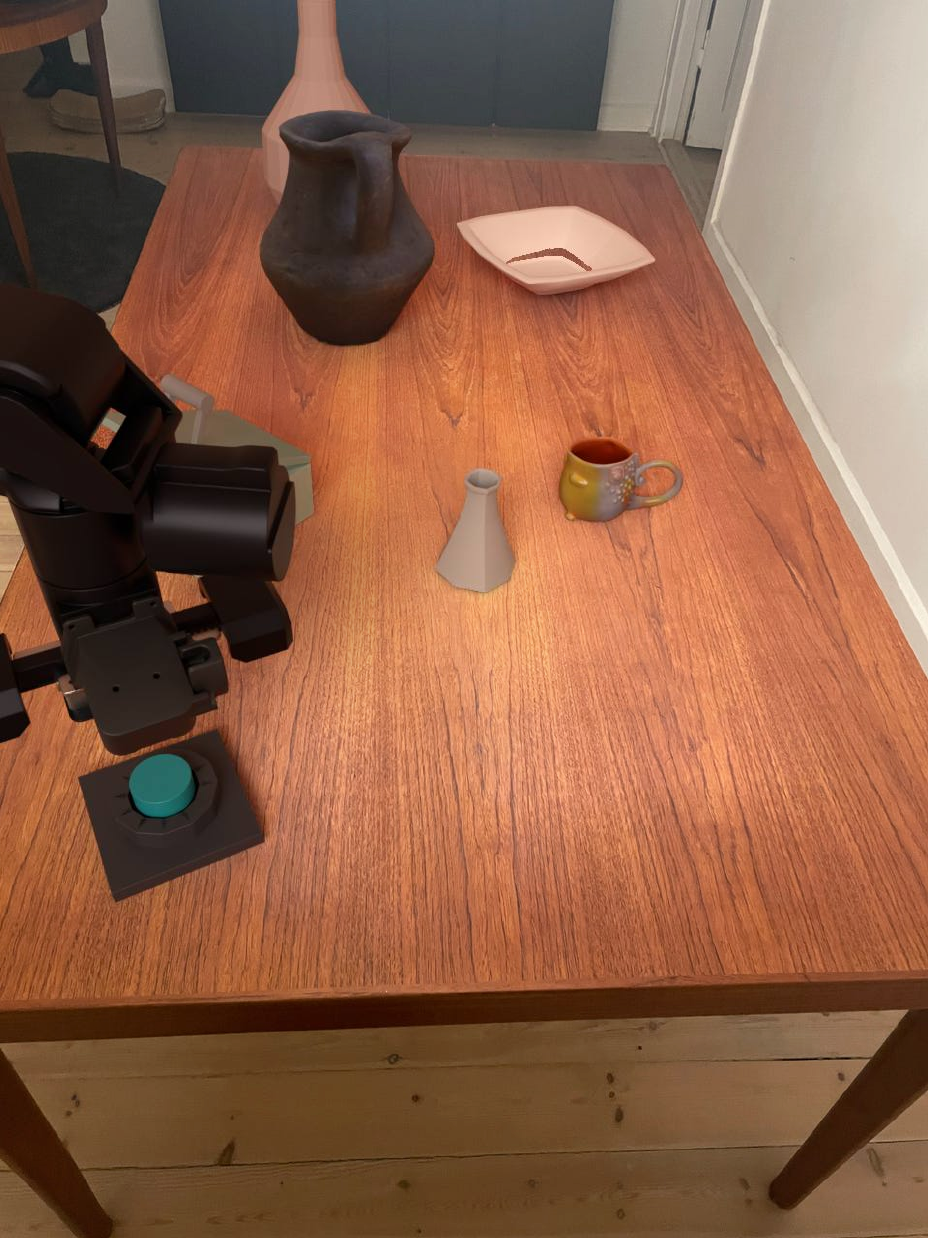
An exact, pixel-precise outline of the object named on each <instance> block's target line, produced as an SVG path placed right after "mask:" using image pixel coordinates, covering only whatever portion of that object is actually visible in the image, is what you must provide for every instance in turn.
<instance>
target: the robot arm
mask: <svg viewBox="0 0 928 1238" xmlns="http://www.w3.org/2000/svg"><path fill="white" fill-rule="evenodd" d="M111 409H112V410H114V411H115V412H119V413H121V414H123V415H124V416H126V417H125V419H124V420H123V422H122V424H121V426H120V427H119V429H118V431H117V432H116V433H115V434H114V436H113V437H112V439H111V441H110V442H109V445H108V446H107V448H104V447H100V446H99V444H98V443H97V442H95V441H92V440H93V438H94V436H95V435H96V434H97V431H98V430H99V428H100V427H101V425H102V424H101V423H102V422H103V420H104V419H105V417H106V415H107V414H108V412H110V411H111ZM181 411H182V410H181V409H180V408H179V407H178V406H177V405H176V403H175V404H174V403H173V402H172V401H171V400H170V399H169V398H168V397H167V396H166V395H165V392H164V391H163V390H162V389H161V388H159V386H157V384H155V382H154V381H152V379H151V378H150V377H149V376H148V375H147V374H146V373H145V372H144V371H143V370H141V368H140V367H139V366H138V365H136V363H135V362H134V361H133V360H132V359H131V358H130V357H129V356H128V355H127V353H126V352H124V350H123V349H121V348H120V345H119V343H118V342H117V340H116V339H115V337H114V336H113V335H112V333H111V332H110V331H109V329H108V328H107V322H106V320H105V319H104V318H103V317H102V316H100V315H99V314H98V313H97V312H96V311H94V310H93V309H91V308H90V307H88V306H86V305H85V304H83V303H80V302H79V301H77V300H76V299H73V298H70V297H66V296H64V295H60V294H56V293H51V292H45V291H42V290H38V289H34V288H29V287H25V286H20V285H17V284H16V285H15V284H11V283H7V282H2V281H0V497H4V498H6V499H7V501H8V502H9V506H10V509H11V511H12V514H13V517H14V520H15V523H16V526H17V528H18V530H19V534H20V537H21V539H22V543H23V545H24V547H25V550H26V552H27V556H28V558H29V561H30V563H31V567H32V569H33V571H34V574H35V577H36V580H37V583H38V585H39V589H40V592H41V593H42V597H43V599H44V602H45V605H46V607H47V610H48V612H49V616H50V618H51V621H52V624H53V626H54V630H55V632H56V634H57V638H58V640H54V641H50V642H46V643H44V644H39V645H37V646H33V647H30V648H27V649H23V650H19V651H16V652H14V653H13V649H12V646H11V643H10V641H9V639H8V636H7V634H6V633H5V632H0V744H3V743H5V742H6V743H7V742H9V741H12V740H16V739H18V738H20V737H21V736H22V735H23V734H24V732H25V731H26V730H27V728H28V727H29V726H30V725H31V718H30V715H29V713H28V710H27V708H26V705H25V703H24V699H23V695H22V694H25V693H28V692H30V691H35V690H37V689H40V688H43V687H47V686H49V685H50V686H51V685H54V684H55V685H56V688H57V690H58V692H59V693H61V695H62V697H63V700H64V704H65V707H66V711H67V714H68V717H69V718H70V720H71V721H73V722H75V723H85V722H88V721H91V720H94V721H93V722H94V724H95V727H96V730H97V731H98V735H99V737H100V739H101V742H102V745H103V746H104V749H105V750H106V751H107V752H108V753H110V754H111V755H113V756H118V757H123V756H129V755H132V754H135V753H137V752H138V751H140V750H143V749H145V748H148V747H151V746H153V745H156V744H160V743H163V742H166V741H168V740H171V739H178V738H181V737H183V736H186V735H188V734H189V733H190V732H191V731H192V730H193V729H194V728H195V726H196V724H197V719H198V718H197V717H199V716H202V715H204V714H207V713H211V712H213V711H216V710H218V709H219V705H218V701H217V698H218V697H220V696H223V695H225V694H228V693H229V691H230V682H229V677H228V672H227V668H226V662H225V658H224V655H223V653H222V651H221V648H220V646H219V643H218V641H220V640H221V639H222V638H223V636H224V639H225V640H226V641H225V642H226V646H227V651H228V654H229V656H230V658H231V659H232V660H235V661H238V662H242V663H244V664H249V663H251V662H254V661H257V660H261V659H263V658H266V657H270V656H273V655H276V654H279V653H283V652H285V651H288V650H289V649H290V648H291V645H293V642H294V634H293V624H292V620H291V616H290V613H289V610H288V608H287V606H286V604H285V602H284V600H283V599H282V597H281V595H280V594H279V591H278V590H277V588H276V586H275V584H274V583H281V582H283V581H284V580H285V578H286V576H287V574H288V571H289V569H290V565H291V560H292V555H293V549H294V543H295V532H296V525H295V518H296V499H295V485H294V481H290V478H289V474H288V471H287V469H286V467H284V466H283V465H279V461H278V451H277V450H276V449H275V448H274V447H271V446H259V445H244V446H237V447H227V446H214V445H201V444H189V443H176V438H175V432H176V430H177V428H178V426H179V424H180V422H181V420H182V417H183V414H182V412H181ZM157 572H158V573H166V574H173V575H185V576H193V575H197V576H202V577H199V578H198V579H197V578H196V580H197V585H198V591H199V593H200V596H201V597H202V599H205V600H206V601H207V602H204V603H201V604H198V605H197V604H196V605H195V606H190V607H186V608H184V609H180V610H177V611H176V609H175V607H174V604H173V602H172V601H171V600H169V599H168V600H164V599H163V595H162V591H161V587H160V582H159V579H158V574H157ZM273 582H274V583H273ZM222 635H223V636H222Z"/></svg>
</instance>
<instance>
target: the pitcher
mask: <svg viewBox="0 0 928 1238" xmlns="http://www.w3.org/2000/svg"><path fill="white" fill-rule="evenodd" d="M279 136H280V138H281V139H282V141H283V142H284V144H285V145H286V147H287V149H288V151H289V167H288V175H287V179H286V184H285V188H284V191H283V195H282V199H281V201H280V204H279V206H278V205H277V207H276V210H275V212H274V214H273V215H272V218H271V219H270V221H269V224H267V227H266V228H265V229H264V231H263V234H262V236H261V240H260V245H259V259H260V264H261V268H262V270H263V273H264V275H265V276H266V278H267V280H268V281H269V282H270V285H271V286H272V287H273V289H274V291H275V292H276V293H277V295H278V296H279V297H280V299H281V300H282V301H283V303H284V305H285V306H286V308H287V311H289V313H290V314H291V316H292V317H293V318H294V320H295V322H296V324H297V325H298V326H299V327H300V328H301V330H303V331H304V332H305V333H306V334H308V335H309V336H311V337H313V338H314V339H316V340H317V341H318V342H323V343H327V344H329V345H337V346H352V345H353V346H354V345H366V344H370V343H375V342H378V341H380V340H381V339H382V338H384V337H385V336H386V335H387V333H388V332H389V331H390V330H391V329H392V327H393V326H394V325H395V323H396V322H397V320H398V319H399V317H400V315H401V314H402V312H403V311H404V309H405V307H406V305H407V304H408V302H409V300H410V299H411V297H412V295H413V293H414V292H415V291H416V289H417V288H418V286H420V284H421V282H422V281H423V280H424V278H425V276H426V275H427V273H428V272H429V270H430V269H431V268H432V265H433V262H434V259H435V253H436V246H435V245H436V244H435V241H434V238H433V236H432V232H431V231H430V230H429V229H428V227H427V225H426V224H425V222H424V221H423V219H422V217H421V216H420V214H419V213H418V210H417V209H416V207H415V206H414V204H413V202H412V200H411V198H410V196H409V194H408V193H409V192H407V189H406V187H405V185H404V181H403V179H402V176H401V173H400V169H399V161H400V159H399V158H400V155H401V153H402V152H403V150H404V148H405V147H406V146H407V145H408V144H409V143H410V141H411V140H412V131H411V129H410V128H409V127H408V126H407V125H404V124H402V123H400V122H398V121H394V120H390V119H388V117H387V118H386V117H383V116H381V115H377V114H373V113H371V114H367V113H361V112H354V111H348V110H328V111H319V112H313V113H308V114H305V115H300V116H296V117H294V118H291V119H289V120H287V121H285V122H284V123H282V124H281V125H280V126H279Z"/></svg>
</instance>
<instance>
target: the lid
mask: <svg viewBox="0 0 928 1238" xmlns="http://www.w3.org/2000/svg"><path fill="white" fill-rule="evenodd" d="M160 389H161V391H162V392H163V393H164V394H165V395H166V396H167V397H168V398H169V399H170V400H171V401H172V402H173V403H174V404H175V405H176V399H177V400H178V401H181V402H183V403H185V404H186V405H188V406H190V407H192V408H193V409H194V410H193V409H192V410H190V409H189V410H188V409H186V410H181V412H182V414H183V417H182V420H181V422H180V424H179V426H178V428H177V430H176V432H175V438H176V443H189V444H201V445H214V446H227V447H237V446H244V445H259V446H271V447H274V448H275V449H276V450H277V451H278V461H279V465H283V466H288V465H298V464H308V463H310V464H311V458H312V455H311V454H310V453H307V452H305V450H304V451H303V450H302V449H300V448H298V447H296V446H294V445H292V444H290V443H289V442H287V441H285V440H283V439H281V438H280V437H277V436H275V435H274V434H272V433H270V432H268V431H266V430H265V429H262V428H261V427H259V426H257V425H255V424H253V423H251V422H250V421H248V420H246V419H244V418H243V417H240V416H238V415H237V414H235V413H233V412H231V411H230V410H228V409H215V406H216V398H215V396H214V395H212V394H210V393H209V392H207V391H205V390H203V389H201V388H199V387H197V386H195V385H193V384H191V383H190V382H188V381H186V380H184V379H182V378H180V377H178V376H177V375H176V374H173V373H166V374H165V375H164V376H163V377H162V379H161V380H160ZM125 417H126V416H124V415H123V414H121V413H119V412H118V411H109V412H108V414H107V415H106V417H105V419H104V420H103V422H102V423H101V425H102V426H104V427H105V428H107V429H109V430H111V431H112V432H114V433H115V434H116V432H117V431H118V429H119V427H120V426H121V424H122V422H123V420H124V419H125Z"/></svg>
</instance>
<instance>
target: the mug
mask: <svg viewBox="0 0 928 1238" xmlns="http://www.w3.org/2000/svg"><path fill="white" fill-rule="evenodd" d="M566 451H567V453H566V454H565V456H564V457H563V467H562V470H561V473H560V477H559V481H558V496H559V500H560V502H561V504H562V506H563V508H564V510H565V511H566V512H565V519H566V520H568V521H577V520H581V521H584V522H593V523H602V522H608V521H611V520H614V519H617V517H619V516H620V515H621V514H622V513H624V512H626V511H632V510H639V509H646V508H647V509H648V508H652V507H653V508H654V507H657V506H660V505H662V504H664V503H667V502H669V501H670V500H672V499H673V498H675V497H676V496H677V495H679V493H680V492H681V490H682V488H683V484H684V475H683V473H682V471H681V469H680V468H679V466H677V464H675V463H673V462H672V461H670V460H668V459H665V458H655V459H651V460H648V461H646V462H644V463H642V464H640V465H639V463H640V455H639V453H638V452H637V451H636V450H635V451H634V450H633V449H632V448H631V447H629V446H628V445H627V444H626V443H624V442H623V441H621V440H619V439H616V438H614V437H612V436H592V437H584V438H579V439H577V440H575V441H574V442H573V443H571V444H570V445H569V446H568V448H567V450H566ZM653 468H665V469H667V470H669V471H670V472H671V473H672V474H673V477H674V482H673V484H672V486H671V487H670V488H669V489H668V490H666V491H665V492H664V493H661V494H657V495H650V496H643V495H638V494H637V493H636V492H635V489H636V488H641V487H643V486H645V484H646V478H645V475H643V473H644V472H646V471H647V470H650V469H653Z"/></svg>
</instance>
